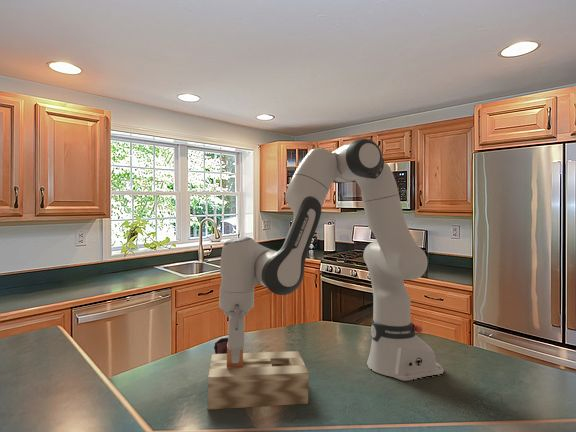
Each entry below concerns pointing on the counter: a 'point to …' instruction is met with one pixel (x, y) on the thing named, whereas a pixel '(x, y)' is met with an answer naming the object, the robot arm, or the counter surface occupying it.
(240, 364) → the wooden block
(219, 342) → the icecream
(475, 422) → the counter surface
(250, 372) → the keyhole plate
